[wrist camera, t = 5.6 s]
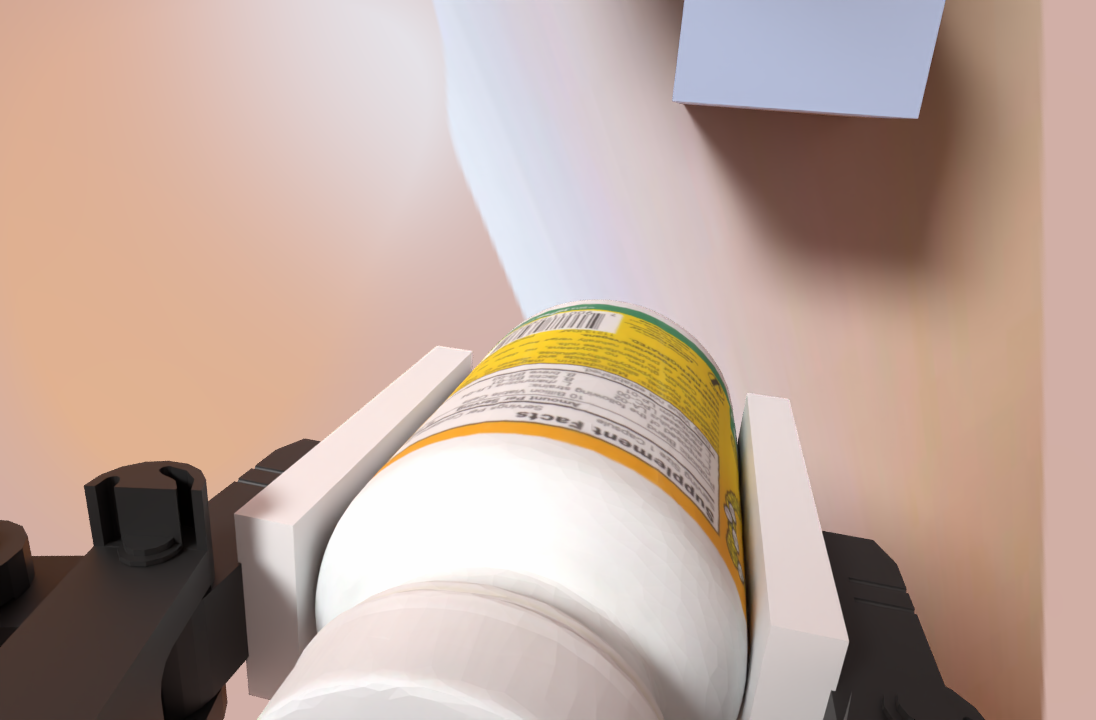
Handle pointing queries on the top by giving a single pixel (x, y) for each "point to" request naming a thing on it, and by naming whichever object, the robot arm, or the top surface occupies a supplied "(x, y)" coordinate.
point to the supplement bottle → (545, 542)
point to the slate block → (808, 55)
